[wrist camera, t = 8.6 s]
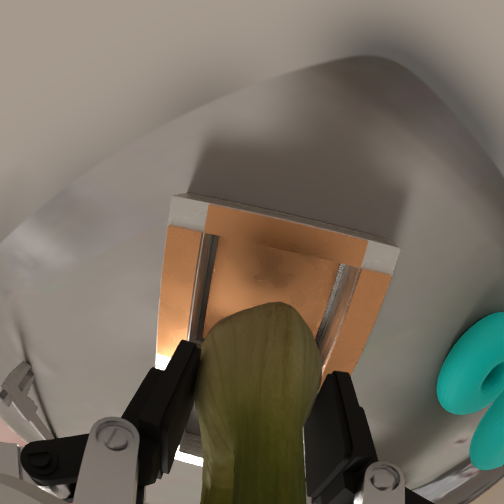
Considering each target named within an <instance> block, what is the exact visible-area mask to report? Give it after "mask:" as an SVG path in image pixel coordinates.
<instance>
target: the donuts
mask: <svg viewBox="0 0 504 504" xmlns="http://www.w3.org/2000/svg"><path fill="white" fill-rule="evenodd" d="M437 396H438V400H439V402H440V404H441V406H442V407H443V408H444V409H445V410H446V411H448V412H450V413H452V414H457V415H465V414H471V413H474V412H477V411H479V410H481V409H483V408H485V407H486V406H488V405H489V404H491V403H492V402H493V404H492V405H491V406H490V408H489V409H488V411H487V412H486V413H485V415H484V416H483V418H482V420H481V421H480V423H479V425H478V426H477V429H476V431H475V433H474V435H473V438H472V440H471V445H470V452H469V455H470V460H471V462H472V464H473V465H474V466H475V467H476V468H478V469H480V470H491V469H494V468H497V467H500V466H502V465H504V312H497V313H493V314H490V315H488V316H486V317H484V318H483V319H481V320H479V321H478V322H477V323H475V324H474V325H473V326H472V327H470V328H469V329H468V330H467V331H466V332H465V333H464V334H463V335H462V336H461V338H460V339H459V340H458V341H457V342H456V344H455V345H454V346H453V348H452V349H451V351H450V352H449V354H448V356H447V357H446V359H445V361H444V363H443V365H442V367H441V370H440V373H439V376H438V381H437Z"/></svg>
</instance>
